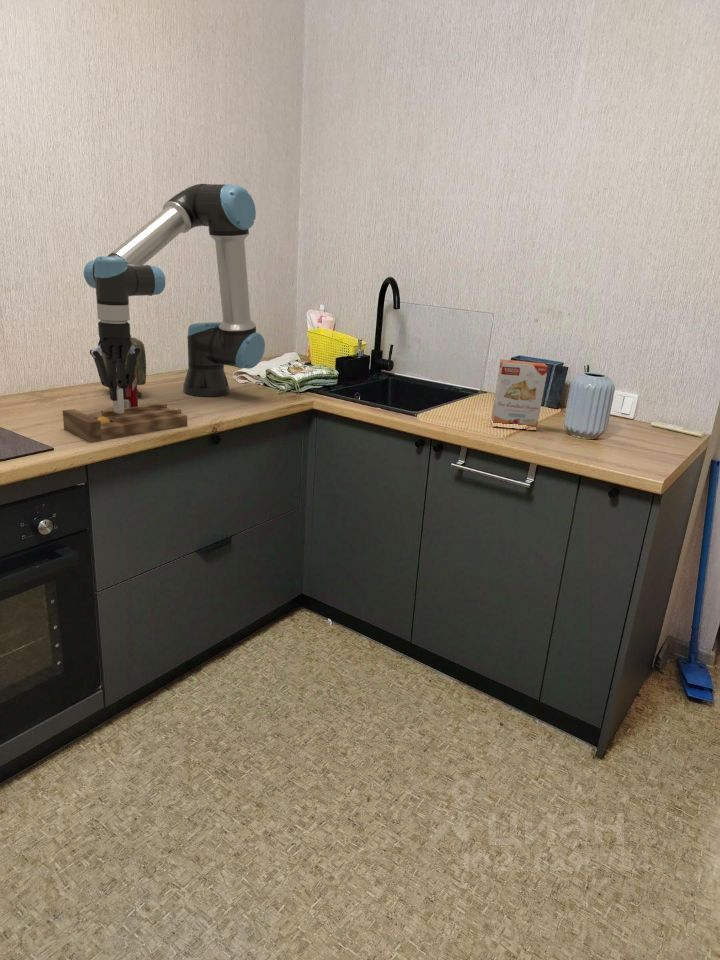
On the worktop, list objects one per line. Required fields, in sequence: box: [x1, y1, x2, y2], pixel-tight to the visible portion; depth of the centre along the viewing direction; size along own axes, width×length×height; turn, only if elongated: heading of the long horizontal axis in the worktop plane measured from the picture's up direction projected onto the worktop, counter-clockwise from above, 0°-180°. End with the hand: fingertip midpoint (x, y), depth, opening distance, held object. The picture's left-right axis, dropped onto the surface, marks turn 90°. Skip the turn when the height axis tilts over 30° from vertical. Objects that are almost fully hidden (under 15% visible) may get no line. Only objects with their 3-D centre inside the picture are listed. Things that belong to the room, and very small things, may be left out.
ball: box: [97, 417, 111, 424], centre depth 169 cm, size 4×4×4 cm
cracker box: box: [490, 359, 549, 428], centre depth 204 cm, size 14×6×21 cm, turn 86°
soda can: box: [116, 368, 139, 408], centre depth 190 cm, size 7×7×12 cm
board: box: [62, 402, 188, 443], centre depth 174 cm, size 28×14×5 cm, turn 138°
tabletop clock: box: [101, 334, 147, 398], centre depth 205 cm, size 14×9×25 cm, turn 40°
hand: (118, 412), depth 172 cm, fingers closed
